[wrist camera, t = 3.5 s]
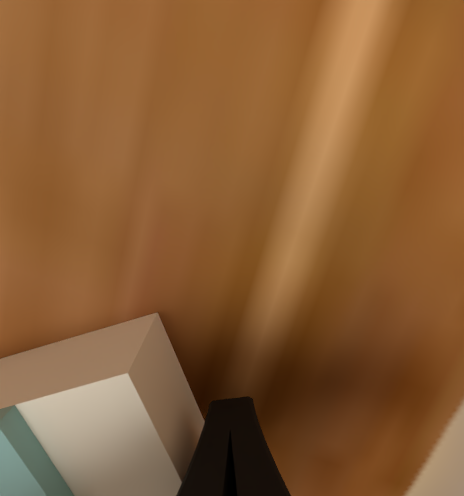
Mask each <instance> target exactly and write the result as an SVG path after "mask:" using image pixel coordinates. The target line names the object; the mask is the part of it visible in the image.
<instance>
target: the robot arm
mask: <svg viewBox="0 0 464 496" xmlns="http://www.w3.org/2000/svg"><path fill="white" fill-rule="evenodd" d="M176 496H291V495H290V493H289V491H288V489H287V487H286V485H285V483H284V481H283V479H282V477H281V475H280V473H279V470H278V468H277V466H276V464H275V461H274V459H273V457H272V455H271V453H270V450H269V448H268V446H267V443H266V441H265V438H264V436H263V433H262V430H261V428H260V425H259V422H258V419H257V415H256V412H255V408H254V404H253V399H252V398H250V397H241V398H232V399H224V400H215V401H212V402H211V403H210V405H209V409H208V413H207V416H206V420H205V423H204V426H203V429H202V432H201V435H200V438H199V441H198V444H197V446H196V449H195V451H194V454H193V457H192V459H191V462H190V464H189V467H188V469H187V472H186V474H185V477H184V479H183V482H182V484H181V486H180V488H179V491H178V493H177V495H176Z"/></svg>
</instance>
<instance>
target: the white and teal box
mask: <svg viewBox="0 0 464 496" xmlns="http://www.w3.org/2000/svg"><path fill="white" fill-rule="evenodd" d="M204 423H205V421H204V419H203V417H202V414H201V412H200V410H199V407H198V405H197V403H196V401H195V398H194V396H193V394H192V391H191V389H190V387H189V384H188V382H187V380H186V377H185V375H184V373H183V370H182V368H181V366H180V363H179V361H178V359H177V356H176V354H175V352H174V349H173V347H172V345H171V342H170V340H169V338H168V335H167V333H166V331H165V328H164V326H163V324H162V321H161V319H160V317H159V315H158V312H157V313H154V314H150V315H147V316H143V317H140V318H137V319H133V320H130V321H126V322H123V323H120V324H116V325H113V326H110V327H106V328H103V329H99V330H96V331H93V332H89V333H86V334H82V335H79V336H76V337H72V338H69V339H65V340H62V341H59V342H55V343H52V344H49V345H45V346H42V347H38V348H35V349H32V350H28V351H25V352H21V353H18V354H15V355H11V356H8V357H4V358H1V359H0V496H176V495H177V493H178V491H179V488H180V486H181V484H182V482H183V479H184V477H185V474H186V472H187V469H188V467H189V464H190V462H191V459H192V457H193V454H194V451H195V449H196V446H197V444H198V441H199V438H200V435H201V432H202V429H203V426H204Z"/></svg>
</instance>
